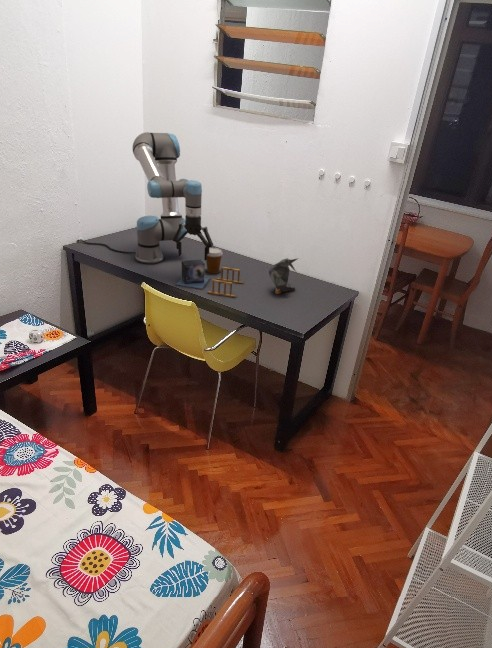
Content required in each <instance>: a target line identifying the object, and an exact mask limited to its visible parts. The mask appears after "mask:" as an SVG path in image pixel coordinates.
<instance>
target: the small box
mask: <svg viewBox="0 0 492 648" xmlns="http://www.w3.org/2000/svg"><path fill="white" fill-rule="evenodd" d="M205 265H206V264H205V262H204V261H203V260H202V259H201V258H199V259H188V260H181V278H182V280H183V282H184V283H185V284H190V283H201V282H204V277H205Z"/></svg>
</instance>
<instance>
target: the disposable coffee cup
mask: <svg viewBox="0 0 492 648" xmlns="http://www.w3.org/2000/svg"><path fill="white" fill-rule="evenodd" d="M222 256H223V250H222V249H221V248H218V247H210V250H209V254H207V260H206V261H205V262H206V270H207V272H208V273H209V274H218V273H219V272H220V268H221V261H222Z"/></svg>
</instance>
